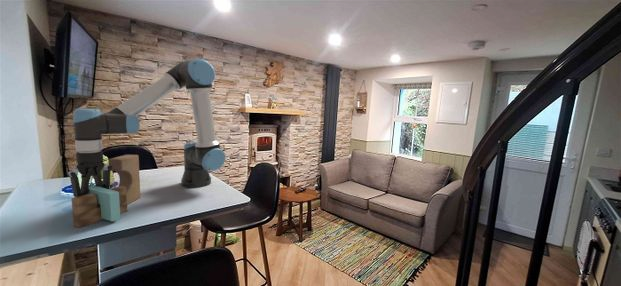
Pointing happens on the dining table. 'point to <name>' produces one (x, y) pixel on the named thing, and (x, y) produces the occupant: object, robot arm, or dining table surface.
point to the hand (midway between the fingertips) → (93, 211)
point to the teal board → (107, 202)
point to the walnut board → (93, 207)
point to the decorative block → (128, 174)
